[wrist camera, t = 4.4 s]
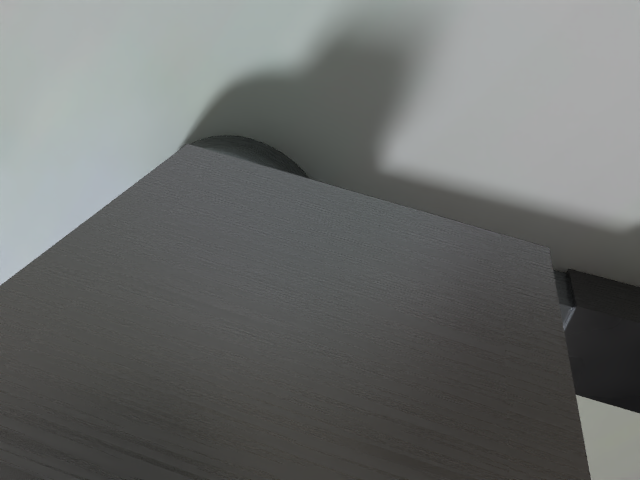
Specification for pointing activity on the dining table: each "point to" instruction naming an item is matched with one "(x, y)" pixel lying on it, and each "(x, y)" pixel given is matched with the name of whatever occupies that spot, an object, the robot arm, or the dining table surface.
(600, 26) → the dining table surface
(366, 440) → the brushed metal cube
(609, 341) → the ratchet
